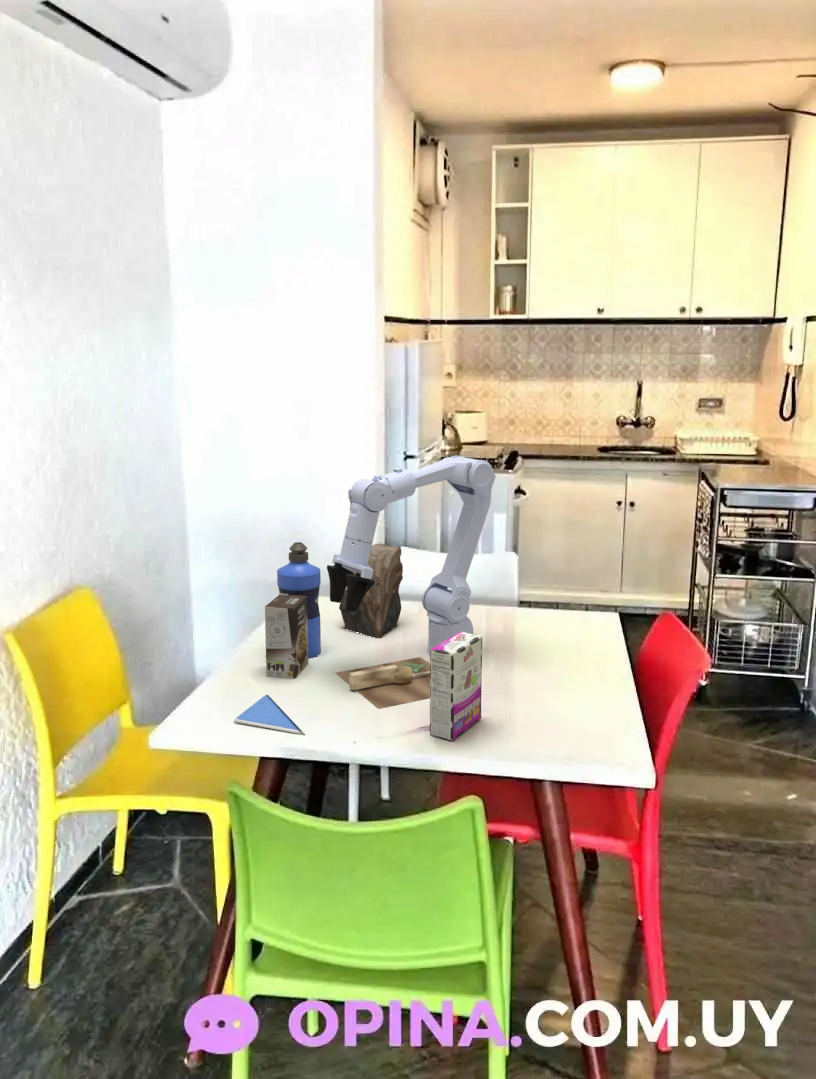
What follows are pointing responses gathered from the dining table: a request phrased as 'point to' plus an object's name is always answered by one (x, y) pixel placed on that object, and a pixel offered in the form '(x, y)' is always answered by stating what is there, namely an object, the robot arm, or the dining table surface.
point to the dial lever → (382, 676)
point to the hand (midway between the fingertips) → (342, 606)
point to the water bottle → (303, 591)
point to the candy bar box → (455, 685)
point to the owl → (378, 595)
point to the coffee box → (286, 636)
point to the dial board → (396, 685)
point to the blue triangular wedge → (268, 716)
